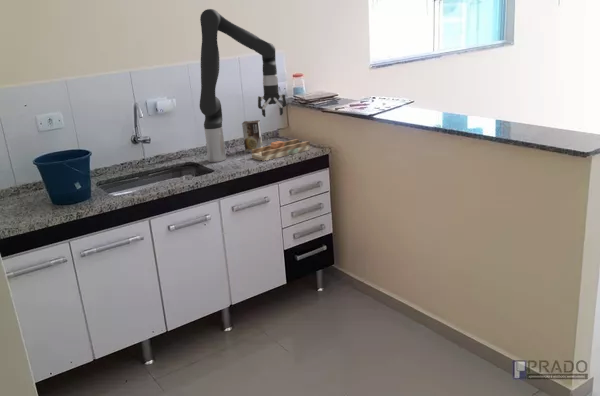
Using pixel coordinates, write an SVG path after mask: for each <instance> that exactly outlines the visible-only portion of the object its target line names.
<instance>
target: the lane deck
mask: <svg viewBox="0 0 600 396" xmlns="http://www.w3.org/2000/svg"><path fill="white" fill-rule="evenodd" d="M283 142H284V147H281V148H276V149H271V144H270V145H266V146H263V147H260V148H256V149H252V150H251V151H252V152H251V157H252V159H255V160H258V161H261V160H262V162H266V161H269V159H270V160H274V159H278V158H281V157H286V156H290V155H293V153H294V154H299V153H303V152H305V151H306V152H307V151H310V150H311V142H310V140H306V141H302V142H300V139H299V138H296V139H290V140H288V141H283ZM273 158H274V159H273ZM265 160H266V161H265Z"/></svg>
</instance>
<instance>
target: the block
mask: <svg viewBox="0 0 600 396" xmlns="http://www.w3.org/2000/svg"><path fill="white" fill-rule="evenodd" d="M284 142H285V141H282V140H281V141H280V140H277V141H273V142H270V145H271V149H276V148H281V147H284Z"/></svg>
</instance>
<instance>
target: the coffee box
mask: <svg viewBox="0 0 600 396" xmlns="http://www.w3.org/2000/svg"><path fill="white" fill-rule="evenodd" d="M241 125H242V135H243V140H244V141H243V142H244V143H243V144H244V150H245V153H249V152H251V153H252V151H251V150H252V149H256V148H260V147H264V146H263V138H262V129H261V120H259V119H258V120H256V119H255V120H244V121H243V122H242V123H241Z"/></svg>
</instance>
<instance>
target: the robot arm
mask: <svg viewBox="0 0 600 396" xmlns="http://www.w3.org/2000/svg"><path fill="white" fill-rule="evenodd" d="M199 20H200V22H199V23H200V30H201V46H200V47H201V48H200V49H201V50H200V96H199V97H200V98H199V109H200V112H201V113H202V114H203V115H204V123H203V128H204V135H205V136H204V137H205V145H206V146H205V147H206V154H207V160H208V162H209V163H210V162H211V163H214V162H215V163H217V162H223V161H225V160H227V153H226V147H225V138H224V132H223V130H224V129H223V112H222V111H223V109H222V104H221V101H220V98H218V97H217V96H216V89H217V88H216V87H217V82H218V79H219V76H220V75H219V73H220V51H219V45H218V34H219V33H218V32H221V33H223V34H225V35H227V36H229V38H231V39H232V40H235V42H237V43H239V44H241V45H242V46H244V47H246V48H248V49H250V50H252V51H255V53H258V54H259V55H261V60H262V86H263V87H262V88H263V89H262V90H263V96H258V97H257V108H258V109H260V110H261V115H262V116H263V117H264V118H265V117H266V108H267V106H268V105H275V104H277V105H278V106H279V108H278V109H279V116H283V113H284V111H283V110H284V109H283V108H285V107H287V100H286V95H285V94H280V93H279V79H278V70H277V64H276V46H275V45H274V44H272V43H270V42H268V41H266V40H264V39H262V38H260V37H259V36H258V35H256V34H254V33H252V32H250V31H248V30H246V29H244V28H243V27H240V26H238V25H236V24H235V23H233V22H231V21H230V20H228V19H226V18H225V17H224V16H223V15H221V14H220V13H219V12H218V11H217V10H216V9H212V8H207V9H205V10H203V11H202V12H201V14H200V19H199ZM279 99H281V101H282V104H281V102H280V101H279ZM263 100H264V103H263V105H262V101H263Z"/></svg>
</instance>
